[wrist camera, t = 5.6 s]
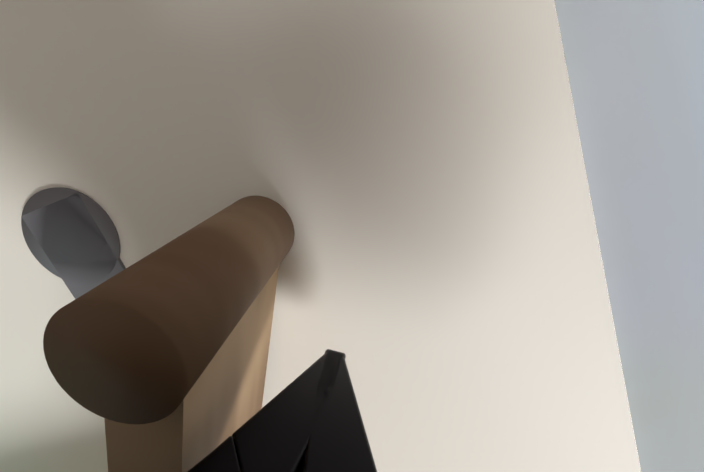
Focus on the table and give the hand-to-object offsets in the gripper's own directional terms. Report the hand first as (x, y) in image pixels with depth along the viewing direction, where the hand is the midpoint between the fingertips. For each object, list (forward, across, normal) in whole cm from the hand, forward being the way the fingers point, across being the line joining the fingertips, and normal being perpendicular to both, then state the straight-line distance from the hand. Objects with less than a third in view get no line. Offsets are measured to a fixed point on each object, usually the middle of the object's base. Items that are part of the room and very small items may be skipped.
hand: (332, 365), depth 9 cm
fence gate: (+1, +2, +2) cm, 3 cm away
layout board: (+2, +4, +4) cm, 6 cm away
